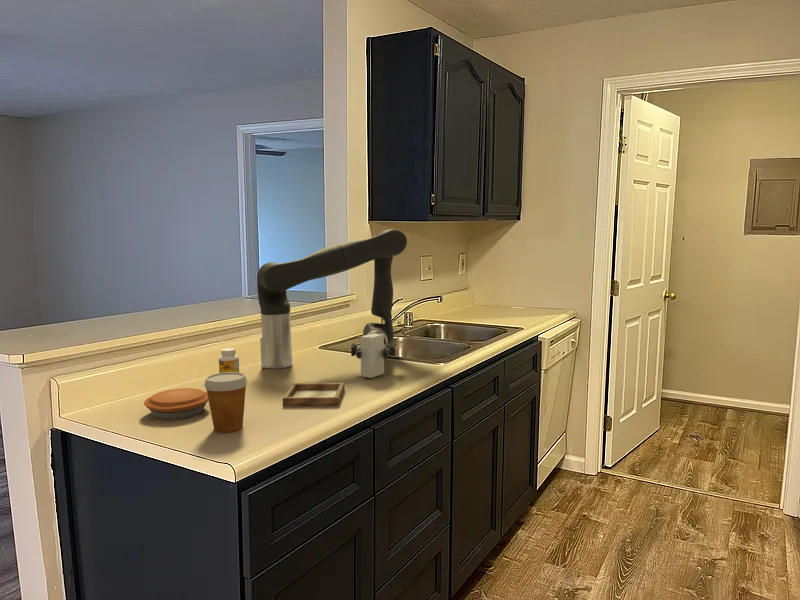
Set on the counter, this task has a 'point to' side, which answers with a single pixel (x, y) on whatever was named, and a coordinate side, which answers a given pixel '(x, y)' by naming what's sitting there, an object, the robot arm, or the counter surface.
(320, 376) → the counter surface
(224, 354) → the supplement bottle
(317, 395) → the tray
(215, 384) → the disposable coffee cup
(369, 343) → the skincare box
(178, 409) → the pie
